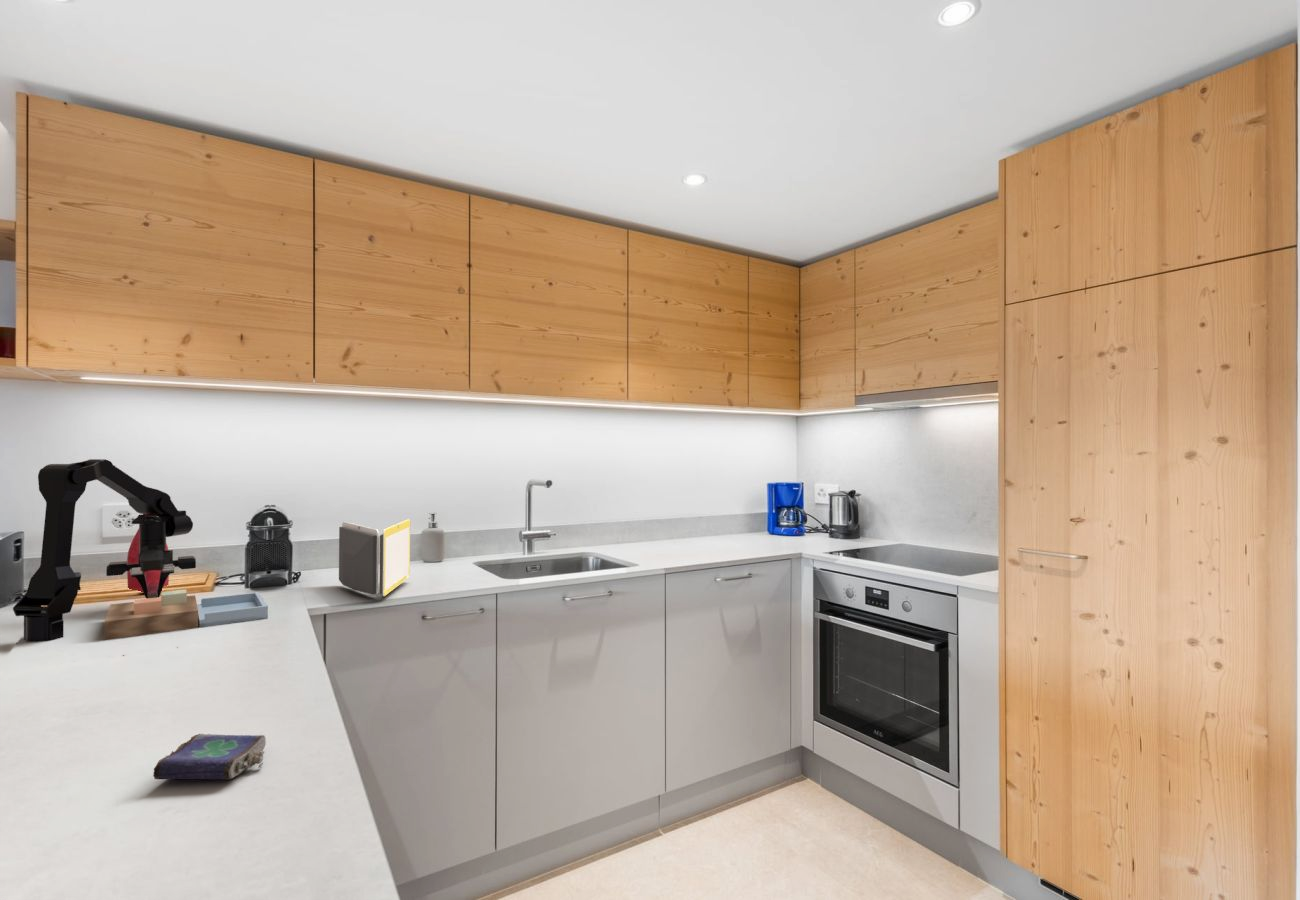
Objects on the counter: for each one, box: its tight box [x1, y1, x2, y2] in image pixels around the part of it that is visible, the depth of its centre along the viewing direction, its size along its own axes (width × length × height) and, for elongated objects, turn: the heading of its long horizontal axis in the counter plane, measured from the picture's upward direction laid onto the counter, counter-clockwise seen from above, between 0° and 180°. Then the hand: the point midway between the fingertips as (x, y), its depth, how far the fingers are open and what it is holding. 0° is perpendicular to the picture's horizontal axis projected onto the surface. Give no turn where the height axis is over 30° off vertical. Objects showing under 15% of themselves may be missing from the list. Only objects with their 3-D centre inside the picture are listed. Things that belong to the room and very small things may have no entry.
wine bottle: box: [126, 514, 170, 593], centre depth 192 cm, size 10×10×30 cm
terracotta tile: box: [133, 596, 161, 615], centre depth 153 cm, size 5×5×2 cm
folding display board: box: [338, 518, 411, 597], centre depth 202 cm, size 35×22×20 cm, turn 45°
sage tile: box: [160, 588, 188, 606], centre depth 161 cm, size 5×5×2 cm
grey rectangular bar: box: [147, 584, 158, 598], centre depth 173 cm, size 2×14×5 cm, turn 37°
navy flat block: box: [152, 733, 267, 780], centre depth 84 cm, size 9×3×11 cm
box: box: [197, 591, 269, 628], centre depth 165 cm, size 14×20×3 cm
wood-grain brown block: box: [103, 595, 199, 641], centre depth 156 cm, size 17×20×4 cm
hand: (152, 597), depth 173 cm, fingers closed on grey rectangular bar, 2 cm apart
